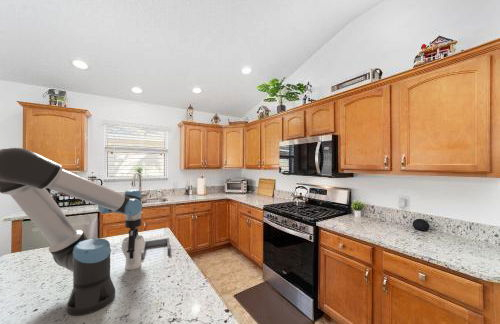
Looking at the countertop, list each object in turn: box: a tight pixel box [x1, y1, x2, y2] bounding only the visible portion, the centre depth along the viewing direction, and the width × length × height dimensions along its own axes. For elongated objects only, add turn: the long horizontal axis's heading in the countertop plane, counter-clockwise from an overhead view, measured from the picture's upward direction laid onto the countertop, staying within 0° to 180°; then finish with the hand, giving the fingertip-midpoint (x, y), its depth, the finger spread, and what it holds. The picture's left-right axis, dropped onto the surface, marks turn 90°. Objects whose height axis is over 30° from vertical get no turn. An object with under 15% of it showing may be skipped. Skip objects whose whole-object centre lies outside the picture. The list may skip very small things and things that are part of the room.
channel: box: [141, 237, 171, 261], centre depth 129 cm, size 19×15×4 cm
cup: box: [121, 234, 146, 271], centre depth 110 cm, size 11×11×15 cm
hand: (133, 258), depth 110 cm, fingers open, 13 cm apart
